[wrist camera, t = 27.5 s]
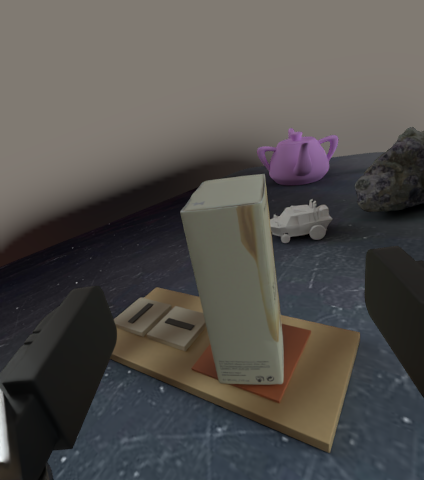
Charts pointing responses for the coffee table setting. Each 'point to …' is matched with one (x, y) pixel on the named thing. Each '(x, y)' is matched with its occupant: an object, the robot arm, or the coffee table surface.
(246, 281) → the cosmetic box
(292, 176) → the teapot
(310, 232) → the toy car
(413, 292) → the robot arm
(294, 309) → the coffee table surface
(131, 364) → the word board
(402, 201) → the mineral rock
